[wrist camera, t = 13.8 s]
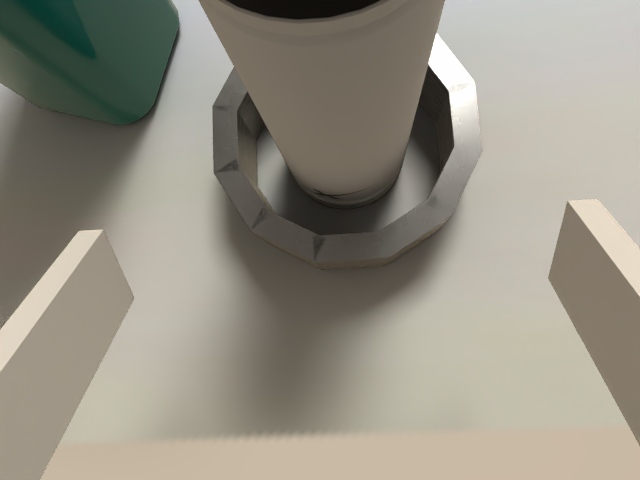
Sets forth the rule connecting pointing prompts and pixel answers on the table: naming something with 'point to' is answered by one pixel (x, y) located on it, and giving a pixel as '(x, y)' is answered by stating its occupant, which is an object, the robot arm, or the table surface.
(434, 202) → the ring collar
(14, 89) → the green bottle
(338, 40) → the travel mug
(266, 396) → the table surface
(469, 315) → the table surface
